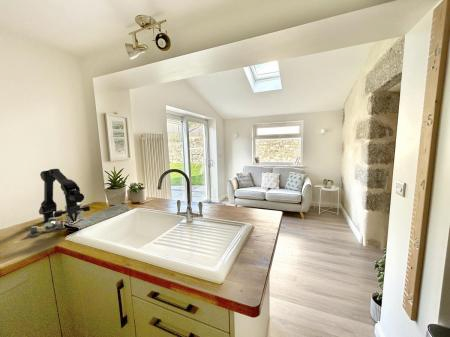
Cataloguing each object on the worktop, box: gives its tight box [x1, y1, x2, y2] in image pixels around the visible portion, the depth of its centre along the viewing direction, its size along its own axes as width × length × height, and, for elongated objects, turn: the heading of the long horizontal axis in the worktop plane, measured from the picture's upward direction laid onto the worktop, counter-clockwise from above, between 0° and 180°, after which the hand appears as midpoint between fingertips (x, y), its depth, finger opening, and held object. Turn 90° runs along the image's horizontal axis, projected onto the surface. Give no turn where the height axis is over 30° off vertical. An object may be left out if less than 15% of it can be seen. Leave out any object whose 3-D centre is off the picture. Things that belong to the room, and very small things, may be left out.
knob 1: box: [29, 225, 45, 233], centre depth 124 cm, size 8×4×3 cm, turn 92°
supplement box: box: [64, 202, 85, 222], centre depth 143 cm, size 7×7×13 cm
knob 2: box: [48, 216, 64, 222], centre depth 139 cm, size 8×4×3 cm, turn 127°
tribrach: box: [27, 221, 68, 238], centre depth 133 cm, size 19×22×5 cm
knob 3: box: [59, 219, 69, 228], centre depth 131 cm, size 8×4×3 cm, turn 37°
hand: (74, 223), depth 132 cm, fingers closed
